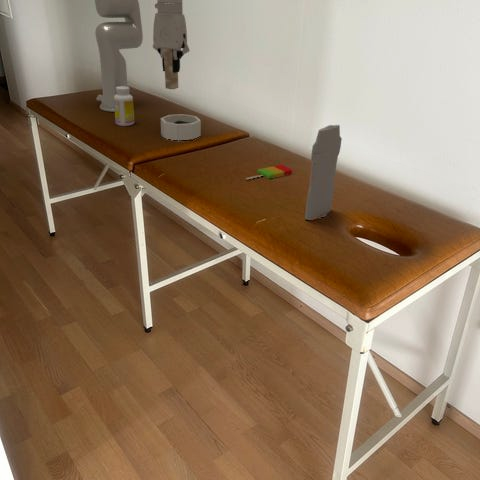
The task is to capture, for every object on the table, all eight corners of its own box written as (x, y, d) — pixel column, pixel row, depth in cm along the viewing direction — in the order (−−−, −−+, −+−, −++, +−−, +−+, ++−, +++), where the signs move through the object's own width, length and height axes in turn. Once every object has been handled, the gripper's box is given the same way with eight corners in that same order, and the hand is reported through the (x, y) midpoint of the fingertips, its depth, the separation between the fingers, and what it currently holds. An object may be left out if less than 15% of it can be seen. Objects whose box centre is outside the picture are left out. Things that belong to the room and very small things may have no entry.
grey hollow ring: (155, 137, 173) (154, 120, 171) (174, 128, 184) (174, 112, 181) (187, 143, 169) (187, 126, 166) (205, 134, 179) (206, 118, 176)
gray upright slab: (323, 206, 129) (335, 119, 119) (337, 211, 127) (350, 123, 116) (297, 218, 122) (307, 127, 112) (311, 224, 120) (323, 131, 109)
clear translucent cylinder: (165, 88, 167) (163, 42, 160) (170, 86, 170) (168, 41, 163) (173, 89, 166) (171, 43, 159) (178, 87, 169) (176, 42, 162)
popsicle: (293, 175, 149) (294, 169, 148) (251, 185, 141) (252, 179, 140) (281, 169, 153) (281, 163, 152) (240, 179, 145) (240, 172, 144)
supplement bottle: (136, 122, 188) (134, 86, 182) (131, 127, 183) (129, 90, 176) (118, 120, 189) (116, 85, 183) (113, 125, 183) (110, 88, 177)
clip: (168, 133, 174) (168, 123, 173) (177, 129, 179) (177, 119, 178) (183, 136, 172) (183, 126, 171) (192, 131, 177) (192, 122, 176)
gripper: (140, 7, 157) (143, 70, 165) (186, 11, 151) (186, 76, 159) (155, 6, 163) (157, 67, 171) (199, 10, 157) (199, 72, 165)
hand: (171, 70), depth 165 cm, fingers closed on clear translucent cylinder, 3 cm apart
